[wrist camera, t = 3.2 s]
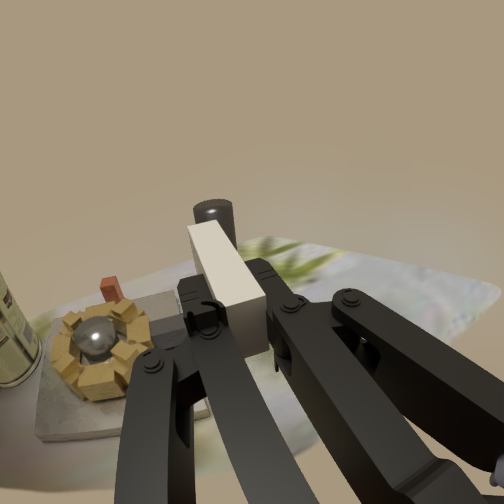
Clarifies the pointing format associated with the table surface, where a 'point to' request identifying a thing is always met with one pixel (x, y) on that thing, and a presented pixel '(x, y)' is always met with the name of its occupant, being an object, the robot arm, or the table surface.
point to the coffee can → (15, 341)
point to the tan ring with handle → (126, 330)
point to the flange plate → (82, 411)
